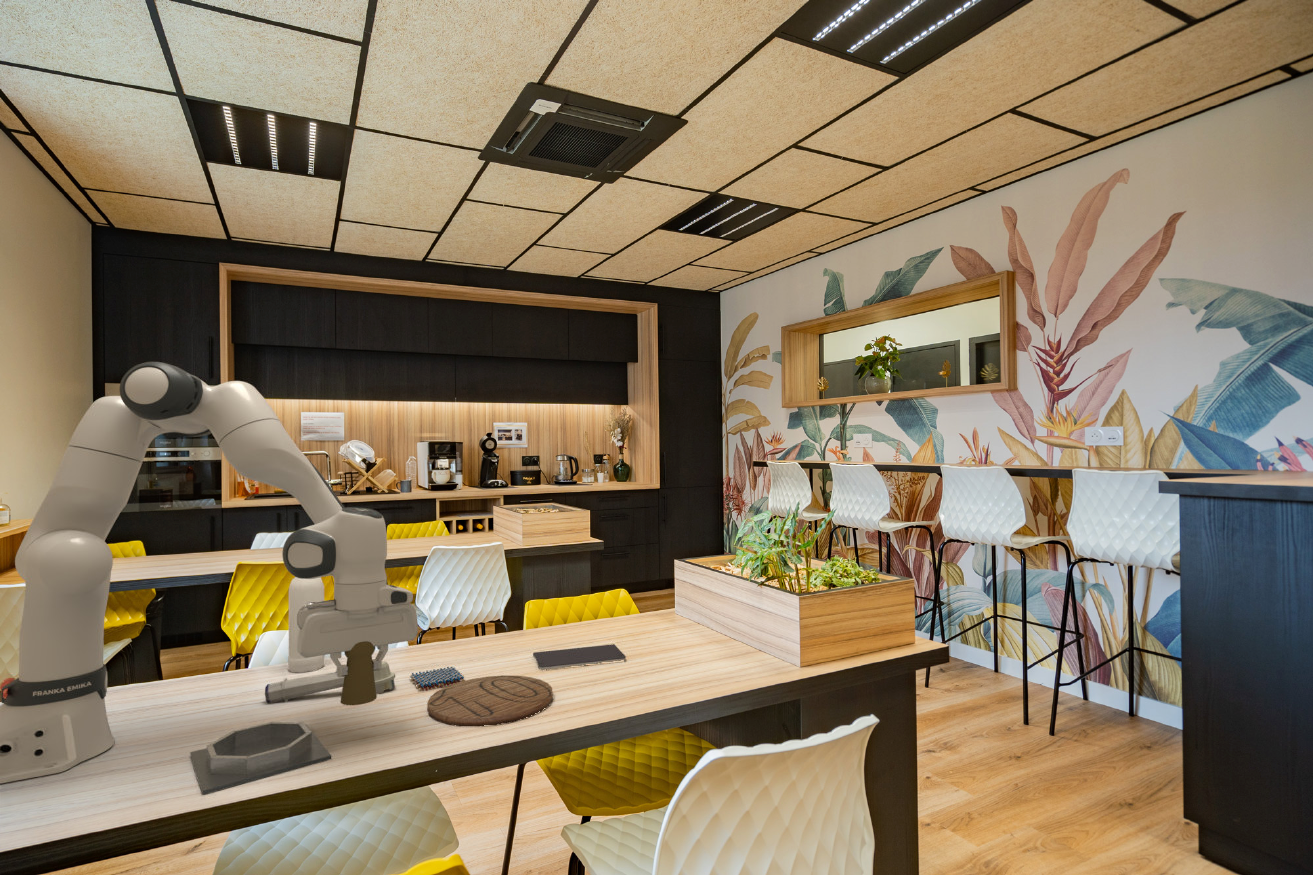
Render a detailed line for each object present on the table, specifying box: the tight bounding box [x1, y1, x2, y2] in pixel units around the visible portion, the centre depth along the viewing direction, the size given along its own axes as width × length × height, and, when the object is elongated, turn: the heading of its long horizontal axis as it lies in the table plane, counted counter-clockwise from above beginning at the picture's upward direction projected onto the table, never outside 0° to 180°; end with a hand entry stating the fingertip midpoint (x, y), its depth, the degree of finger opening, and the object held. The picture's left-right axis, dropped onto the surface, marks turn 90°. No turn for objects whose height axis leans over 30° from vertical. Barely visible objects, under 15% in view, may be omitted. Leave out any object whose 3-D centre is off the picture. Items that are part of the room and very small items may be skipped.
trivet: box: [426, 675, 553, 727], centre depth 137 cm, size 25×25×2 cm
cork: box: [340, 641, 377, 706], centre depth 122 cm, size 6×6×11 cm
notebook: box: [532, 643, 627, 671], centre depth 166 cm, size 13×2×21 cm
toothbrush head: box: [264, 660, 396, 704], centre depth 144 cm, size 5×7×25 cm
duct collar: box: [189, 721, 332, 796], centre depth 113 cm, size 18×18×3 cm
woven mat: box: [409, 666, 466, 692], centre depth 151 cm, size 10×11×2 cm
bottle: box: [287, 576, 326, 674], centre depth 164 cm, size 8×8×30 cm
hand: (359, 672), depth 122 cm, fingers closed on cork, 4 cm apart
